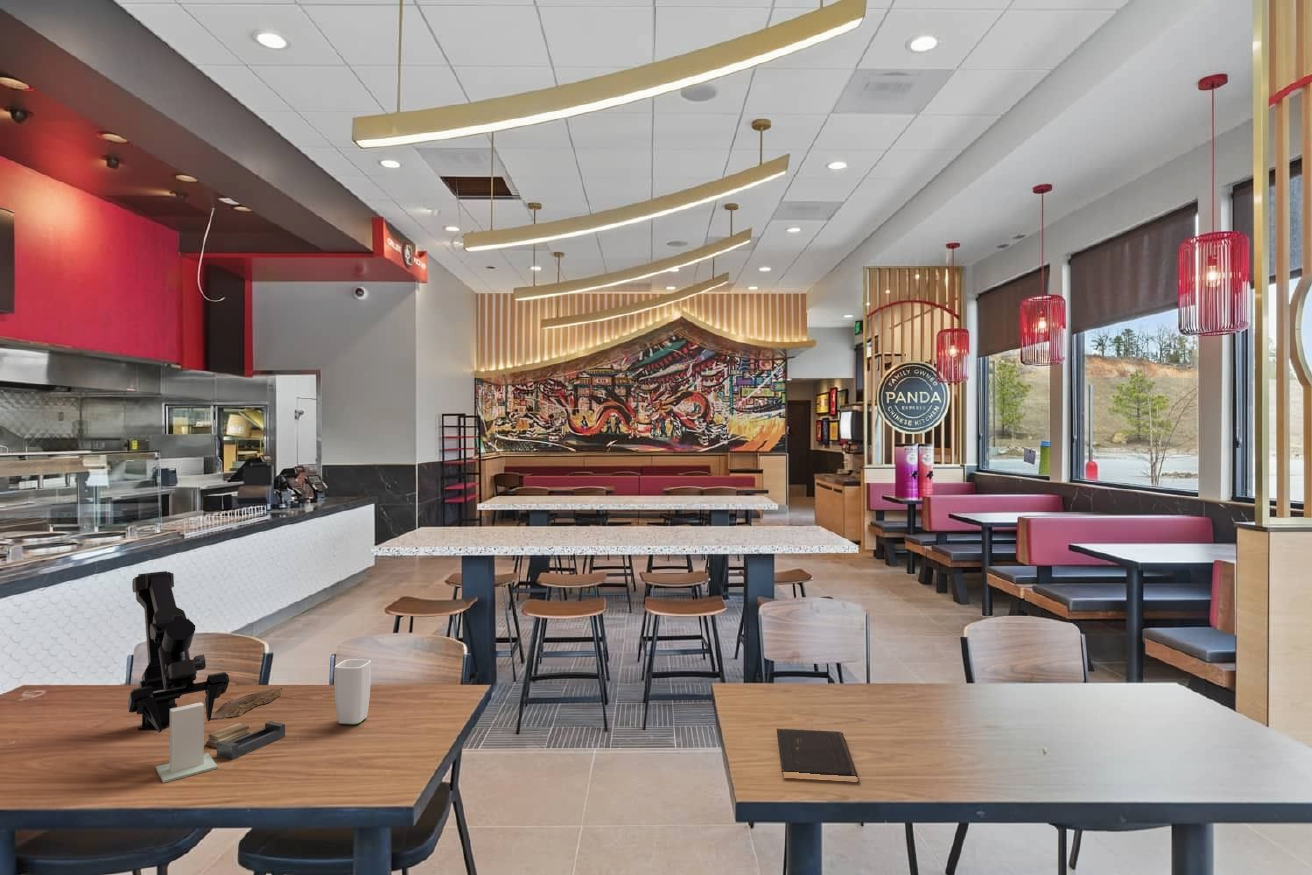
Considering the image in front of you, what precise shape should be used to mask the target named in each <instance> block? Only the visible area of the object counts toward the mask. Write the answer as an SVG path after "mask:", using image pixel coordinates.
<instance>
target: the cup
mask: <svg viewBox="0 0 1312 875" xmlns="http://www.w3.org/2000/svg"><path fill="white" fill-rule="evenodd" d="M371 666H372V661H371V660H370V659H356V658H351V659H344V660H342V661H341V662H339V663H337V664H336V665H335V666H334V681H333V682H334V699H335V700H334V703H335V709H336V710H335V711H336V719H337V723H339V724H341V725H346V726H347V725H350V726H351V725H354V726H355V725H358V724H360V723H361V722H362V721H364V720H365V719H366V718H368V713H369V705H370V698H371V697H370V695H371V681H372V680H371V678H372V676H371V675H372V674H371V673H372V671H371V670H372V667H371Z"/></svg>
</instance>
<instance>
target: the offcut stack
mask: <svg viewBox="0 0 1312 875" xmlns="http://www.w3.org/2000/svg"><path fill="white" fill-rule="evenodd" d="M248 730H250V726H249V725H248V724H244V723H241V722H238V723H236V724H233V725H230V726H227V727H224V728H221V729H219V730H216V731H212V732H211V733H208V740H207V741H205V746H206V747H212V748H215V749H217V742H220V741H222V740H224V741H228V742H231V741H233V740H235V739H238V738H240V737H243V736H245V735H248V734H250V733H251V732H249V731H248Z"/></svg>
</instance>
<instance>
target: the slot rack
mask: <svg viewBox="0 0 1312 875" xmlns="http://www.w3.org/2000/svg"><path fill="white" fill-rule="evenodd" d="M284 737H285V738H286V724H285V723H282V722H276V721H272V720H270V721H267V722H264V727H263V728H259V729H258V730H257V729H256V730H255V731H252V732H250V734H248V735H245V736H243V737H240V738H238V739H235V740H233V741H231V742H228V741H224V740H222V741H220V742H217V748H216V757H219V758H224V759H228V760H235V759H237V758H240V757H241V756H244V755H245V754H249V753H251V752H252V751H255V750H258V749H260V748H262V747H264V746H267V745H269V744H271V743H274V742H276V741H278V740H280V739H283V738H284Z"/></svg>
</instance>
